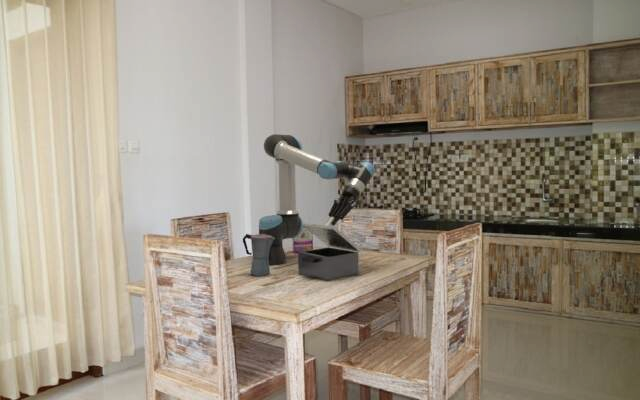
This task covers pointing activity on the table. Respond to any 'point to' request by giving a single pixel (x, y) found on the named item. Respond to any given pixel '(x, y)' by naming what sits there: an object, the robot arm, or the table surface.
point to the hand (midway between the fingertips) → (326, 230)
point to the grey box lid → (331, 237)
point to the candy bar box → (303, 241)
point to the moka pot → (259, 253)
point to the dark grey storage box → (328, 263)
